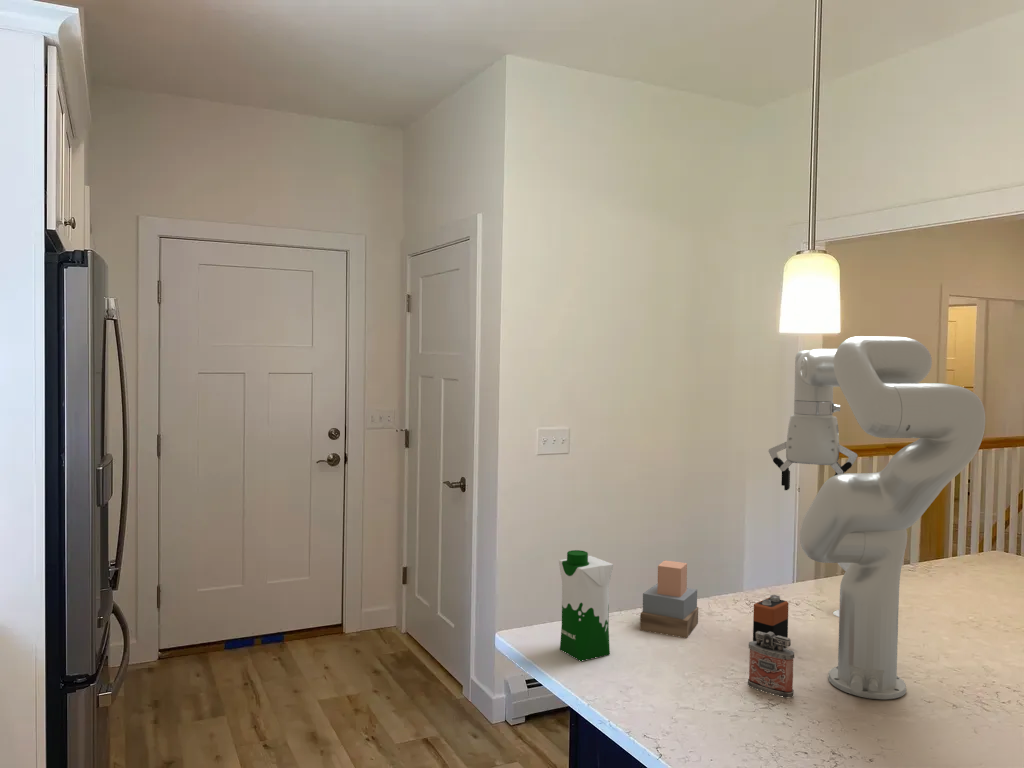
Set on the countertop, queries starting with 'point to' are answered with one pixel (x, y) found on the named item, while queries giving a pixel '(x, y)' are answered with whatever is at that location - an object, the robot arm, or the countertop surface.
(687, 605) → the tower top
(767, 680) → the lighter
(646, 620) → the tower base
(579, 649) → the milk carton
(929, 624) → the countertop surface
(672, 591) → the pillar block
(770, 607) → the battery
